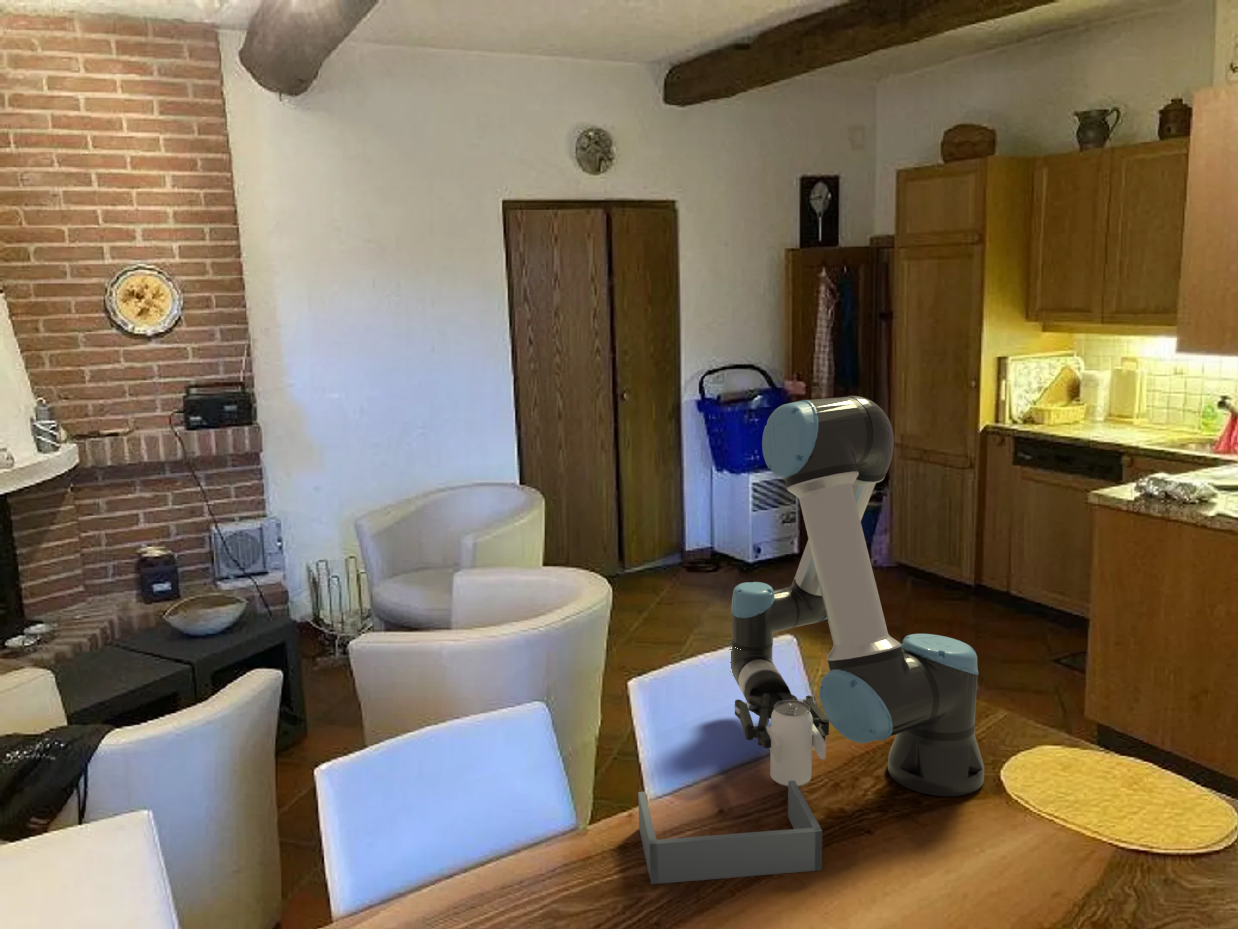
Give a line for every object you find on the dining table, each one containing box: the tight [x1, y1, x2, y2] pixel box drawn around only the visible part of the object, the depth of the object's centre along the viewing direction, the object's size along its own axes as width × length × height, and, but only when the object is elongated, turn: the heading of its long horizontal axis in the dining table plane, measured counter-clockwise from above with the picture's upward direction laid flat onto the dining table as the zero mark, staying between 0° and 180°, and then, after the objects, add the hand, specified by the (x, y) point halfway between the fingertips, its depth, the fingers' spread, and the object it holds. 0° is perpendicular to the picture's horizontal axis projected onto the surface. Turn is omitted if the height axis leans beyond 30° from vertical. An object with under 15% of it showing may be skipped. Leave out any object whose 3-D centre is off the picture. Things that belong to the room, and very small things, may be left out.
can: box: [769, 700, 813, 788], centre depth 155 cm, size 6×6×12 cm
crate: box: [637, 781, 823, 885], centre depth 142 cm, size 14×24×6 cm, turn 96°
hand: (801, 752), depth 150 cm, fingers closed on can, 6 cm apart
